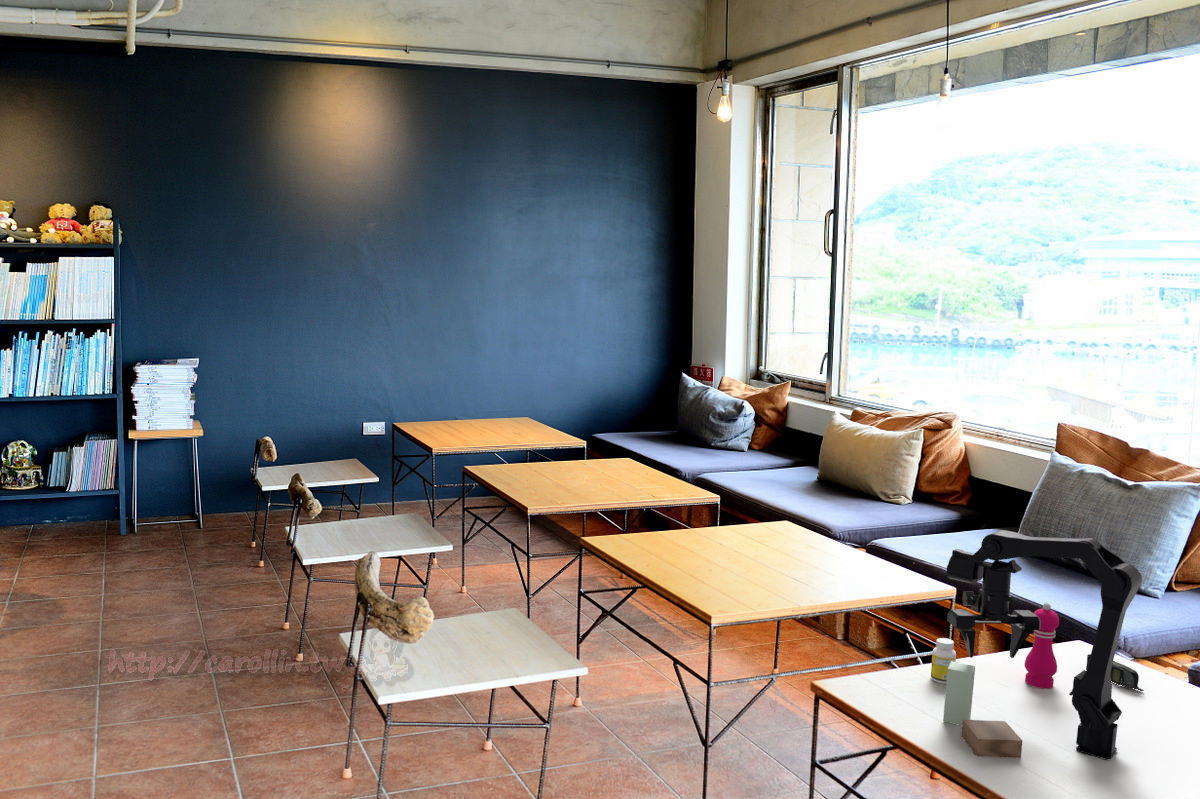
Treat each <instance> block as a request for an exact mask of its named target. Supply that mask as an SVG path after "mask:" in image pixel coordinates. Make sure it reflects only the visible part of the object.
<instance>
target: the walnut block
mask: <svg viewBox="0 0 1200 799" xmlns="http://www.w3.org/2000/svg"><path fill="white" fill-rule="evenodd" d="M960 732H961V734H960V736H961V738H962V739H963V740H965V741H964V742H965V743H966V744H967V746H968V747H969V749H970V750H971V751H972V752H973V753H974V755H975V756H976V757H986V758H987V757H988V758H1011V759H1012V758H1013V759H1015V758H1017V759H1021V758H1022V750H1023V739H1022V738H1021V737H1020V736H1019V735H1018V733H1016V732H1015V730H1014V729H1013V728H1012V727H1011V726H1010V725H1009V724H1008V723H1007V721H1005V720H984V719H983V720H981V719H980V720H979V719H970V720H963V721H962V726H961V731H960Z"/></svg>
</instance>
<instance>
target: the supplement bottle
mask: <svg viewBox="0 0 1200 799" xmlns="http://www.w3.org/2000/svg"><path fill="white" fill-rule="evenodd" d="M935 641H936V642H935V647H934V648H933V650H932V654H931V655H932V656H931V668H930V679H931V680H932V682H936V683H938V684H944V685H946V683H947V672H948V667H949V665H950V663H951V661H953V662H957V653H956V652H957V651H955V649H954V647H955V645H954V644H955V642H954V640H952V639H950V638H946V637H939V638H937V639H936V640H935Z"/></svg>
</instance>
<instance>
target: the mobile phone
mask: <svg viewBox="0 0 1200 799" xmlns="http://www.w3.org/2000/svg"><path fill="white" fill-rule="evenodd" d="M1090 656H1091V653H1089V654H1087V655H1086V666H1085V671H1086V670H1087V668H1088V664H1089V660H1090ZM1110 676H1111V681H1112V682H1114V683H1116V684H1118V685H1122V686H1125V687H1127V688H1126V689H1132V688H1134V689H1133V690H1135V689H1138V690H1140V691H1144V692H1145V690H1144V689H1142V688H1140V687H1139V680H1140V677H1139V674H1138V671H1136V670H1135V669H1133V668H1131V667H1129V666H1127V665H1125V664H1122V663H1120V662H1118V661H1115V660H1113V664H1112V667H1111V671H1110ZM1114 683H1113V684H1114ZM1116 684H1115V685H1116ZM1118 685H1117V686H1118ZM1125 687H1124V688H1125ZM1140 691H1139V692H1140Z"/></svg>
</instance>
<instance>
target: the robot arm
mask: <svg viewBox="0 0 1200 799" xmlns="http://www.w3.org/2000/svg"><path fill="white" fill-rule="evenodd" d="M980 545H981V547H980V548H978V549H977V551H975V552H971V551H965V550H963V549H959V548H956V549H953V550H952V551H951V552H952V553H951V556H950V558H949V560H948V564H947V565H946V575H947V578H948V579H951V580H955V581H960V582H964V583H969V584H973V585H975V584H977V583H978V582H979V581H981V580H982V583H981V584H982V585H981V588H980V589H979V590H978V594H975V593H974V591H973V590H972V591H970V590H965V591H962V598H961V599H962V604H963V607H964V606H968V607H969V606H970V610H971V611H975V612H976V613H980V614H972V613H971V612H970V611H969V610H967V609H959V608H958V609H956V608H955V609H954V608H953V609H950V610H949V612H948V613H947V617H946V618H947V620H946V621H947V622H948V623H949V624H951V625H952V627H954V628H955V629H957V630H958V631H960V633H961V635H962V638H963V641H964V643H965V647H966V650H967V651H966V652H967V654H968V657H969V658H970V659H972V658H974V657H973V656H974V653H975V642H976V630H975V629H974V627H975V626H976V624H978V625H979V624H984V625H985V624H988V625H989V624H992V625H994V624H995V625H996V624H998V625H999V624H1000V625H1010V628H1011V635H1010V636H1011V637H1010V645H1009V658H1011V659H1014V658H1015V656H1016V655H1017V653H1018V651H1019V650H1020V649H1021V647H1022V645H1023V644H1024V643H1025V641H1026V640H1027V638H1029V636H1030V635H1031V634H1032V635H1034V630H1040V628H1041V621H1040V618H1039V617H1038V616H1037V615H1035V614H1034V612H1032V611H1031V610H1029V609H1026V610H1025V609H1014V610H1013V611H1012V612H1011V614H1010V613H1009V608H1010V607H1009V606H1010V602H1012V601H1013V596H1011V595H1010V594H1011V582H1012V580H1011V579H1012V574H1017V573H1018V572H1020V571H1021V572H1022V567H1021V566H1020V565H1019V564H1018V563H1017V561H1016V560H1015V558H1021V557H1022V558H1023V557H1036V558H1037V557H1038V558H1039V557H1040V558H1057V559H1058V558H1060V559H1061V558H1062V559H1080V560H1081V561H1082V562H1083V563H1084V564H1085V566H1086V567H1087V569H1088V570H1089V571H1090V572H1091V574H1092V576H1094V578H1096V579H1097V580H1098V581H1099V582H1100V598H1101V599H1100V600H1101V604H1102V605H1101V606H1102V607H1101V608H1102V609H1101V612H1100V617H1099V620H1098V625H1097V628H1096V632H1095V636H1094V641H1093V644H1092V649H1091V653H1090V654H1091V656H1090V660H1089V664H1088V668H1087V670H1086V669H1083V670H1081V671H1080V672H1079V673H1077V675H1075V676H1074V677H1073V682H1072V683H1073V684H1072V690H1071V691H1070V692H1069V694H1068V695H1069V696H1072V697H1071V705H1072V707H1074V709H1075V711H1077V714H1078V717H1079V721H1080V722H1079V724H1078V725H1077V730H1076V732H1077V733H1076V741H1075V742H1076V745H1077V746H1076V747H1075V748H1076V749H1075V750H1076V751H1077V752H1079V753H1085V754H1088V755H1090V756H1094V757H1097V758H1101V759H1104V760H1107V761H1110V760H1111V759H1112V758H1113V756H1114V755H1115V753H1117V751H1118V747H1116V741H1117V733H1118V727H1119V725H1118V724H1117V723H1115V722H1117V721H1118V720H1119V719H1120V717H1121V715H1122V713H1123V711H1122V710H1121V708H1120V707H1119V706H1118V705H1117V703H1116V702H1115V700H1114V699H1113V698H1112V694H1113V693H1112V692H1113V691H1112V690H1113V685H1112V684H1113V683H1112V682H1111V676H1110V671H1111V667H1112V664H1113V661H1115V660H1114V659H1115V655H1116V652H1117V651H1116V650H1117V647H1118V643H1119V639H1120V635H1121V632H1122V627H1123V623H1124V620H1125V615H1126V611H1127V609H1128V608H1129V606H1130V604H1131V603H1132V601H1133V600H1134V598H1135V597H1136V595H1137V593H1138V590H1139V588H1140V586H1141V584H1142V578H1143V577H1142V574H1141V572H1140V571H1139V570H1138V568H1137V567H1135V566H1134V565H1132V564H1130V563H1126V561H1124V559H1122V558H1121V557H1120V556H1119V555H1117V554H1116V553H1114V552H1113V551H1111V550H1110V549H1108V548H1106V547H1105V546H1104V545H1103V544H1101V542H1100V541H1098V540H1097V539H1095V538H1094V537H1093V538H1092V537H1087V538H1074V537H1073V538H1072V537H1071V538H1070V537H1069V538H1068V537H1067V538H1065V537H1044V536H1043V537H1040V536H1038V537H1037V536H1028V535H1024V534H1022V533H1019V532H1015V531H1010V530H1006V529H1001V530H997V531H994V532H993V533H990V534H987V535H985V536H984V537H983V539H982V541H981V544H980ZM987 560H990V561H991V562H990V561H987ZM1003 560H1004V561H1003ZM1005 560H1009V561H1005ZM992 561H993V562H992Z"/></svg>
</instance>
